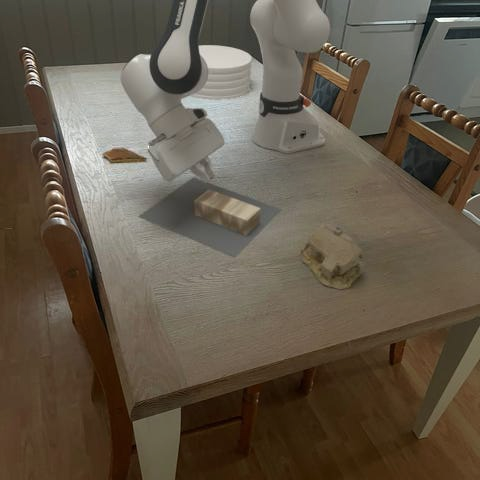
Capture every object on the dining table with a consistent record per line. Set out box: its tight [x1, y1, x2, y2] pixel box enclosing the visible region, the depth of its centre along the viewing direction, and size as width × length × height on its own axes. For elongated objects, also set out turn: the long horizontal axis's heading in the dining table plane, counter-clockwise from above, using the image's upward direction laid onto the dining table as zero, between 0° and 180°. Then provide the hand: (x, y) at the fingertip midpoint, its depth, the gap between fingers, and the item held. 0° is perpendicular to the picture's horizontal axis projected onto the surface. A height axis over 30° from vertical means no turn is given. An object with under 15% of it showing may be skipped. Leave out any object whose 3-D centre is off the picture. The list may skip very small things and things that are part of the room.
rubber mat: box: [137, 177, 282, 258], centre depth 110 cm, size 26×22×1 cm
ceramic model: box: [300, 223, 365, 290], centre depth 95 cm, size 14×11×10 cm
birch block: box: [194, 189, 261, 235], centre depth 107 cm, size 4×6×14 cm
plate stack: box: [188, 44, 253, 101], centre depth 175 cm, size 28×28×12 cm
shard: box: [102, 146, 148, 164], centre depth 128 cm, size 11×8×2 cm
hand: (210, 179), depth 104 cm, fingers closed
